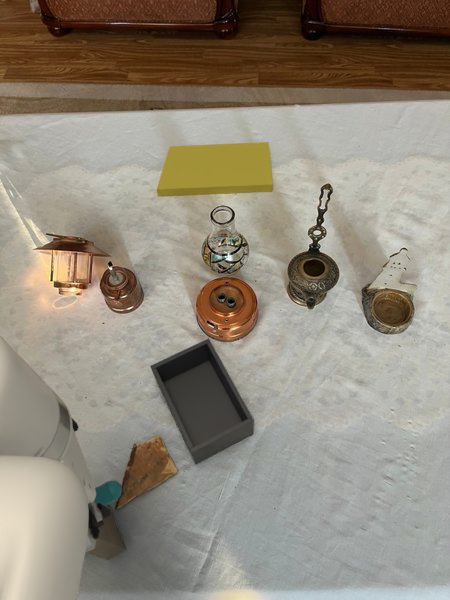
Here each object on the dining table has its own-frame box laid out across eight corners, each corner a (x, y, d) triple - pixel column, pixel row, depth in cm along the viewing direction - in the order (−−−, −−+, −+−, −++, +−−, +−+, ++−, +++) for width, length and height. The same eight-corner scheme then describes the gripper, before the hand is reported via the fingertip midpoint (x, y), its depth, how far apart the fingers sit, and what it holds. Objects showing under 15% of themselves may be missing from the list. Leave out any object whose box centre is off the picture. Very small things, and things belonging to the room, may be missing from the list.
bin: (253, 434, 85) (254, 420, 78) (195, 464, 83) (191, 453, 76) (211, 356, 92) (208, 338, 85) (156, 382, 90) (150, 365, 83)
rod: (29, 547, 62) (22, 546, 60) (23, 528, 63) (16, 525, 61) (126, 496, 65) (122, 493, 62) (119, 479, 66) (115, 475, 64)
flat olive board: (268, 149, 116) (160, 154, 116) (268, 142, 114) (158, 146, 114) (272, 191, 110) (158, 196, 110) (272, 184, 108) (156, 189, 108)
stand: (107, 559, 76) (74, 551, 62) (88, 508, 80) (53, 487, 65) (126, 549, 77) (98, 538, 62) (107, 498, 81) (76, 476, 66)
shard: (116, 511, 80) (114, 509, 78) (97, 466, 83) (94, 464, 82) (179, 474, 82) (178, 472, 81) (158, 432, 86) (157, 429, 84)
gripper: (-58, 357, 42) (21, 418, 57) (-2, 571, 35) (72, 577, 50) (31, 318, 44) (85, 387, 59) (104, 515, 36) (145, 537, 51)
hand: (79, 474), depth 54 cm, fingers open, 9 cm apart
